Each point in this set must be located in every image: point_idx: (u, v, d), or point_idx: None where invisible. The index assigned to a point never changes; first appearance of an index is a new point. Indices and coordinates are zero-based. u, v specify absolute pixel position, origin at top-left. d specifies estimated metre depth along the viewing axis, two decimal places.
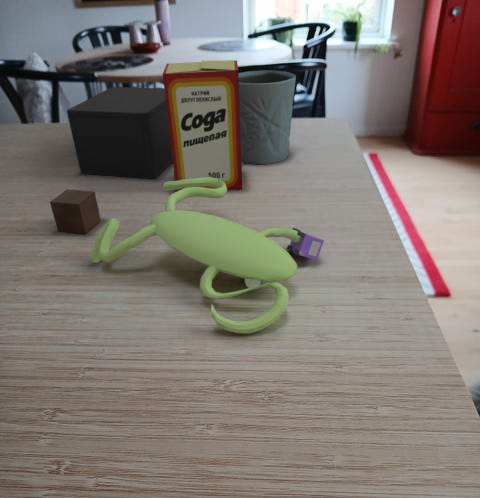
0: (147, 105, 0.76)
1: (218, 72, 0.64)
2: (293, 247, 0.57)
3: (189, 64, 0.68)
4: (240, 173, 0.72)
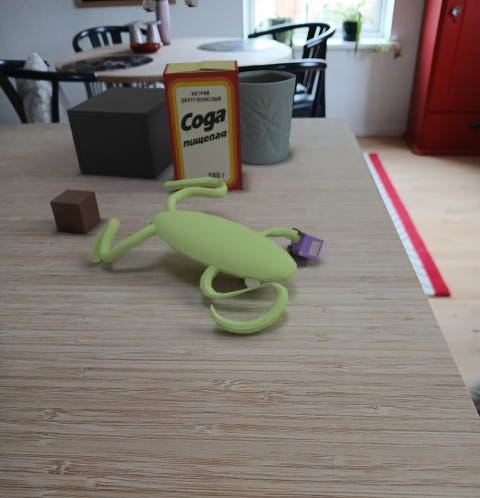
0: (147, 105, 0.76)
1: (218, 72, 0.64)
2: (293, 247, 0.57)
3: (189, 64, 0.68)
4: (240, 173, 0.72)
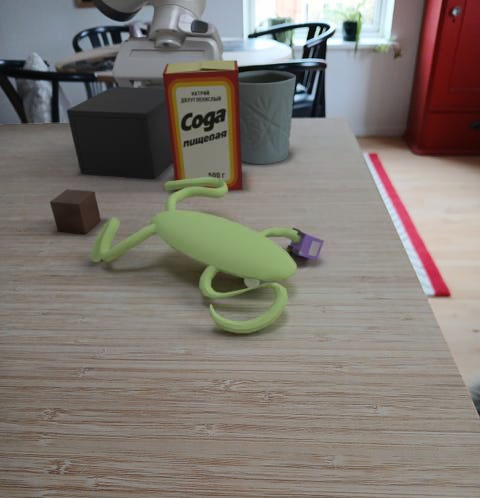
0: (147, 105, 0.76)
1: (218, 72, 0.64)
2: (293, 247, 0.57)
3: (189, 64, 0.68)
4: (240, 173, 0.72)
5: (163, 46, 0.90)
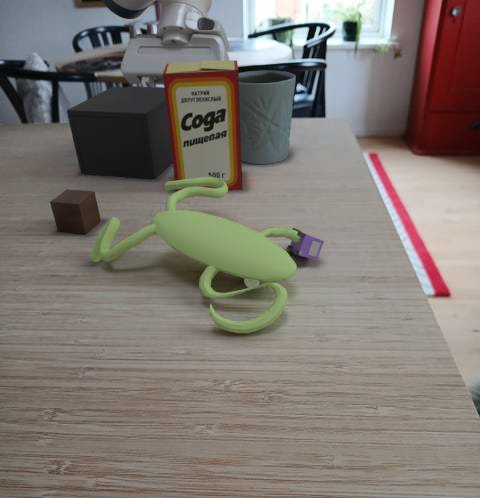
0: (147, 105, 0.76)
1: (218, 72, 0.64)
2: (293, 247, 0.57)
3: (189, 64, 0.68)
4: (240, 173, 0.72)
5: (170, 43, 0.93)
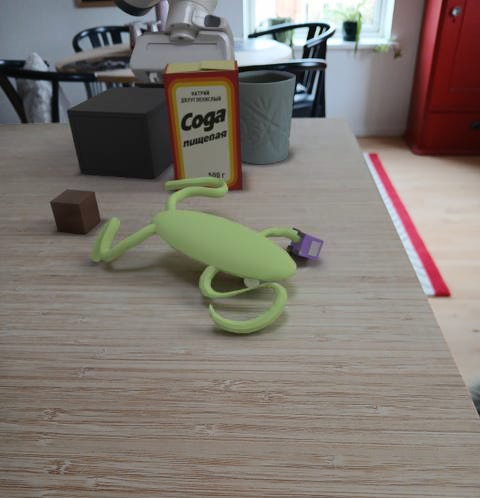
0: (147, 105, 0.76)
1: (218, 72, 0.64)
2: (293, 247, 0.57)
3: (189, 64, 0.68)
4: (240, 173, 0.72)
5: (178, 40, 0.96)
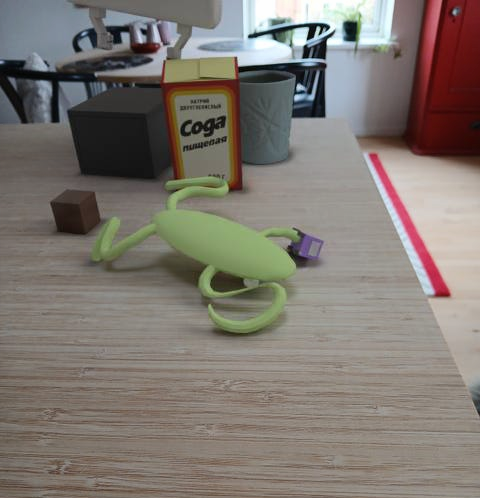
0: (147, 105, 0.76)
1: (218, 81, 0.62)
2: (293, 247, 0.57)
3: (187, 63, 0.65)
4: (240, 175, 0.72)
5: None
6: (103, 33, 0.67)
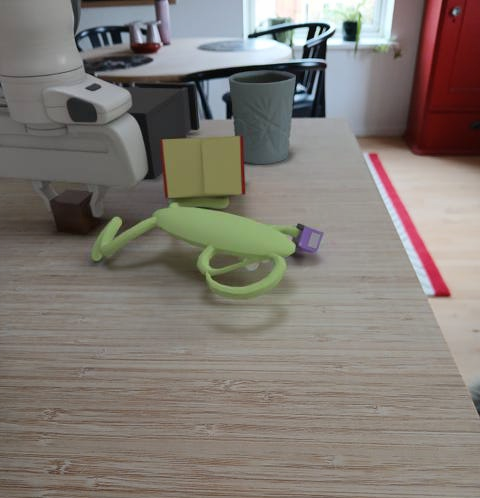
0: (147, 105, 0.76)
1: (223, 195, 0.61)
2: None
3: (188, 152, 0.59)
4: None
5: None
6: (51, 199, 0.64)
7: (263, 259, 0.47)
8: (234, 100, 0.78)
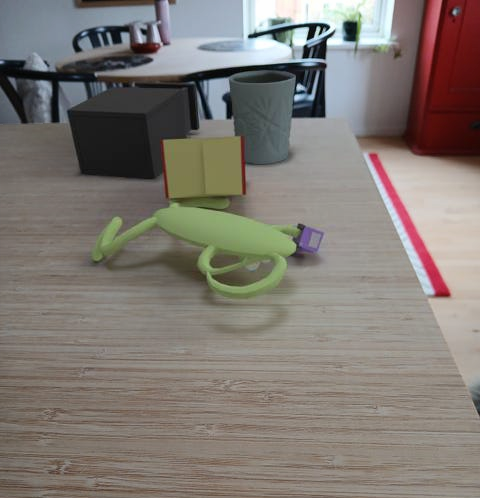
0: (147, 105, 0.76)
1: (224, 195, 0.61)
2: None
3: (189, 153, 0.59)
4: None
5: None
6: None
7: (264, 259, 0.47)
8: (234, 100, 0.78)
